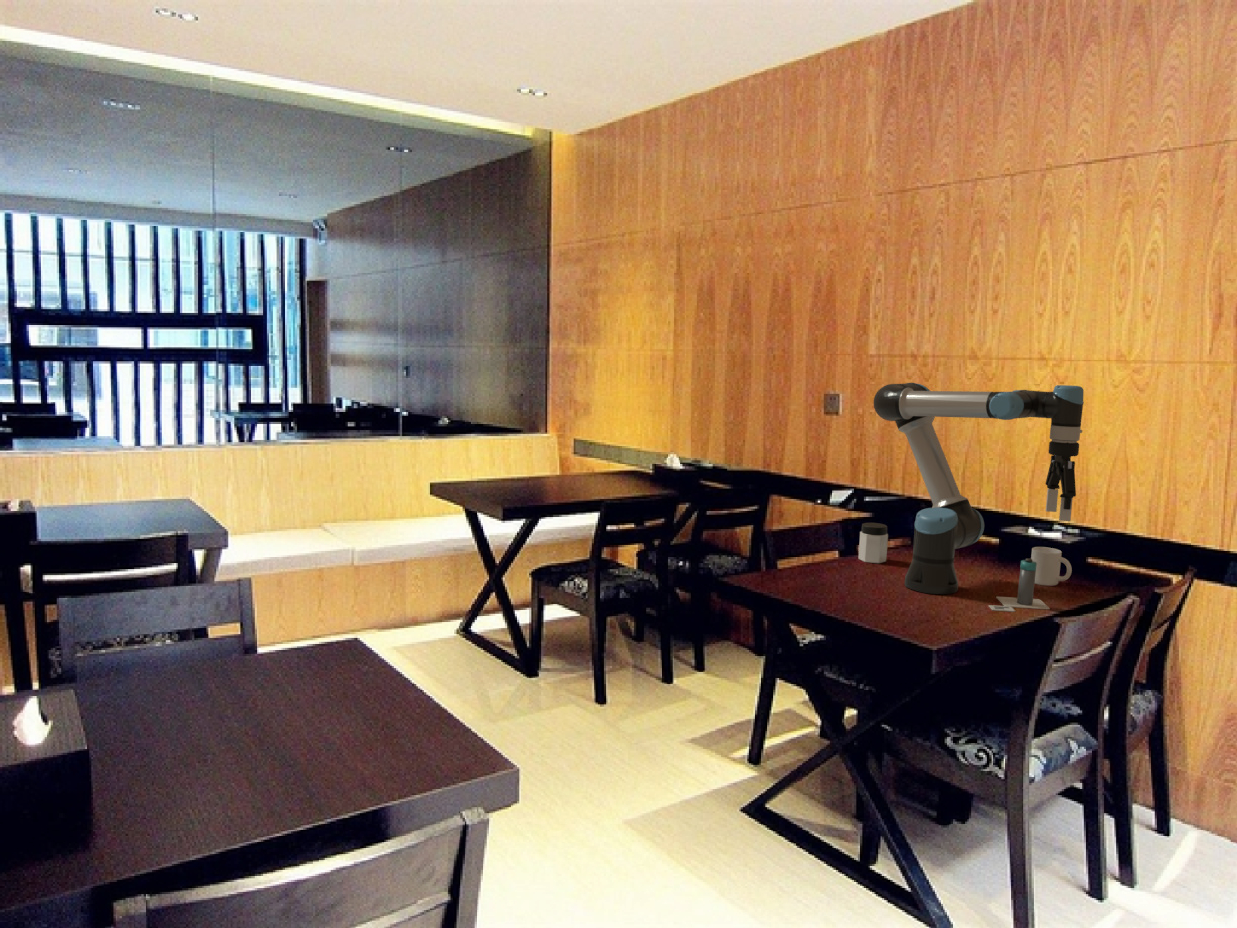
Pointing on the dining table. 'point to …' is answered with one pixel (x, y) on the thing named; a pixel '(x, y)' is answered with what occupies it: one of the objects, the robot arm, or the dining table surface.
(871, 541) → the jar
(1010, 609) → the word card
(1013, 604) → the paper
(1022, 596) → the grey teal battery
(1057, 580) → the mug
